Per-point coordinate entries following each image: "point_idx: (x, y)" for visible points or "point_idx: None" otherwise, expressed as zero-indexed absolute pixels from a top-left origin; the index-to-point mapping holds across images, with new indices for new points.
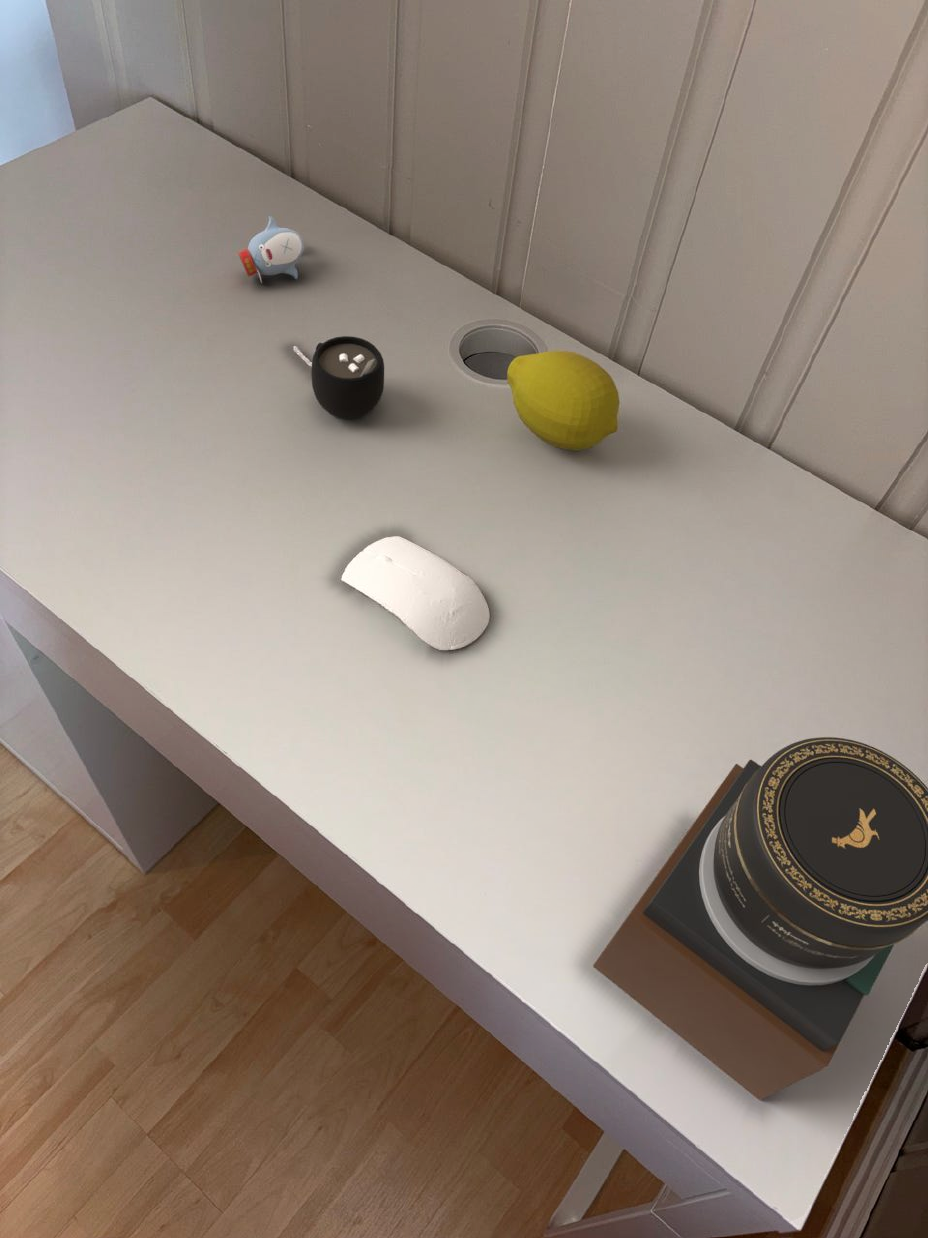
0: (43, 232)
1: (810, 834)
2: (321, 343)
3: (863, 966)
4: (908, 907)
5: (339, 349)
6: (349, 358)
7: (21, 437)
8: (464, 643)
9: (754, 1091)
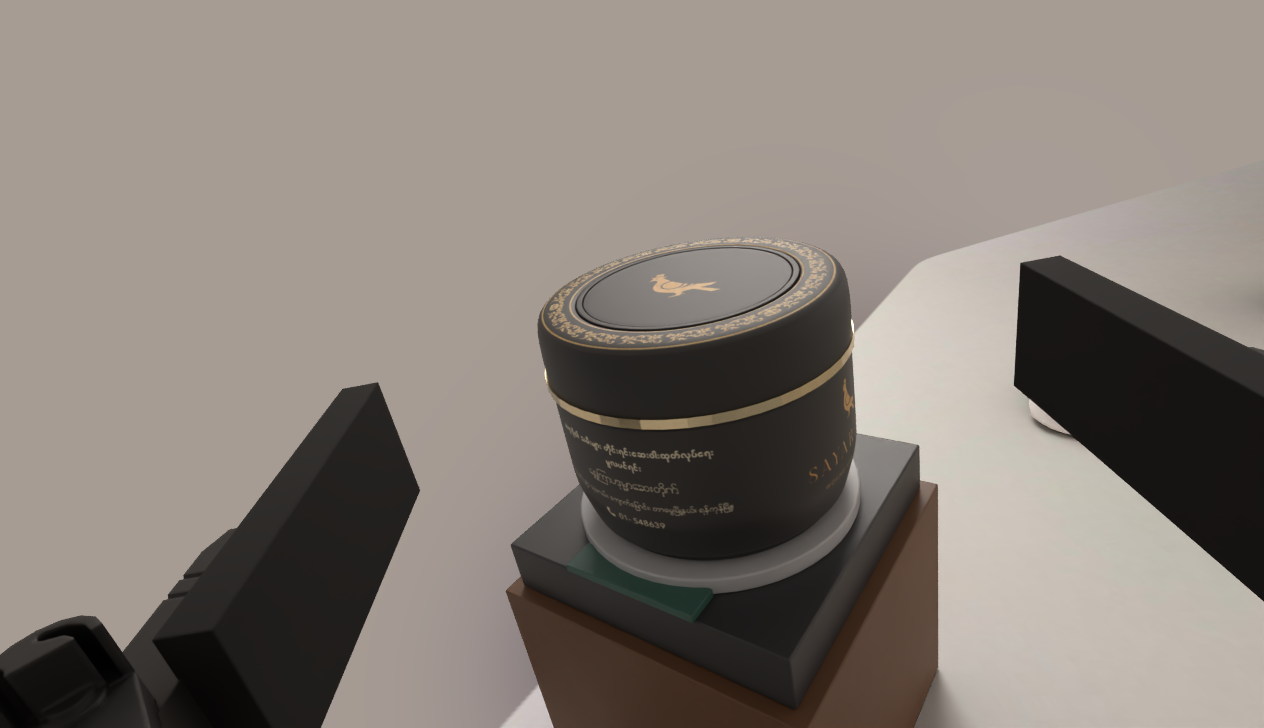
0: (1261, 172)
1: (665, 264)
2: None
3: (603, 550)
4: (565, 322)
5: None
6: None
7: (1035, 230)
8: (1057, 427)
9: None
